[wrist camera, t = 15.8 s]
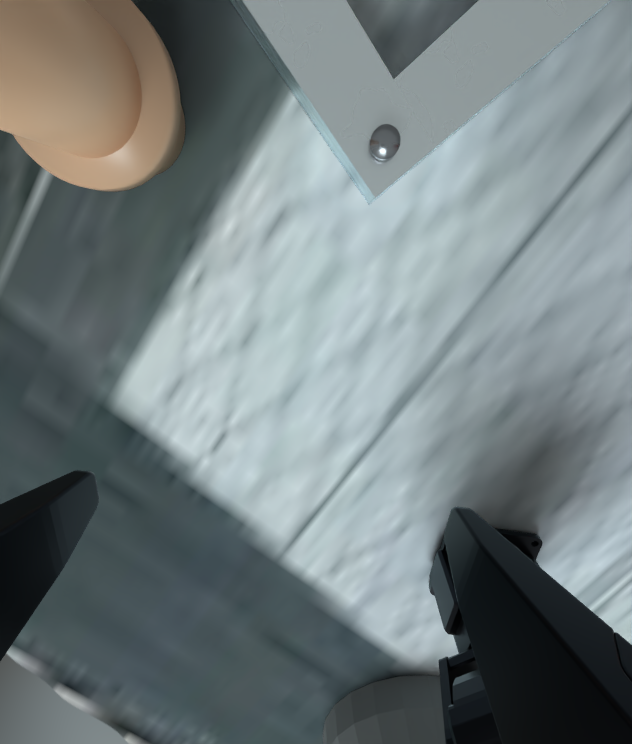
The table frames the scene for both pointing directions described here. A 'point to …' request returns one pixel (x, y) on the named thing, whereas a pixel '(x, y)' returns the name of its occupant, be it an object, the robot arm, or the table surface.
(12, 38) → the knob
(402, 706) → the baseball cap
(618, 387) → the table surface
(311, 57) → the square mounting plate
